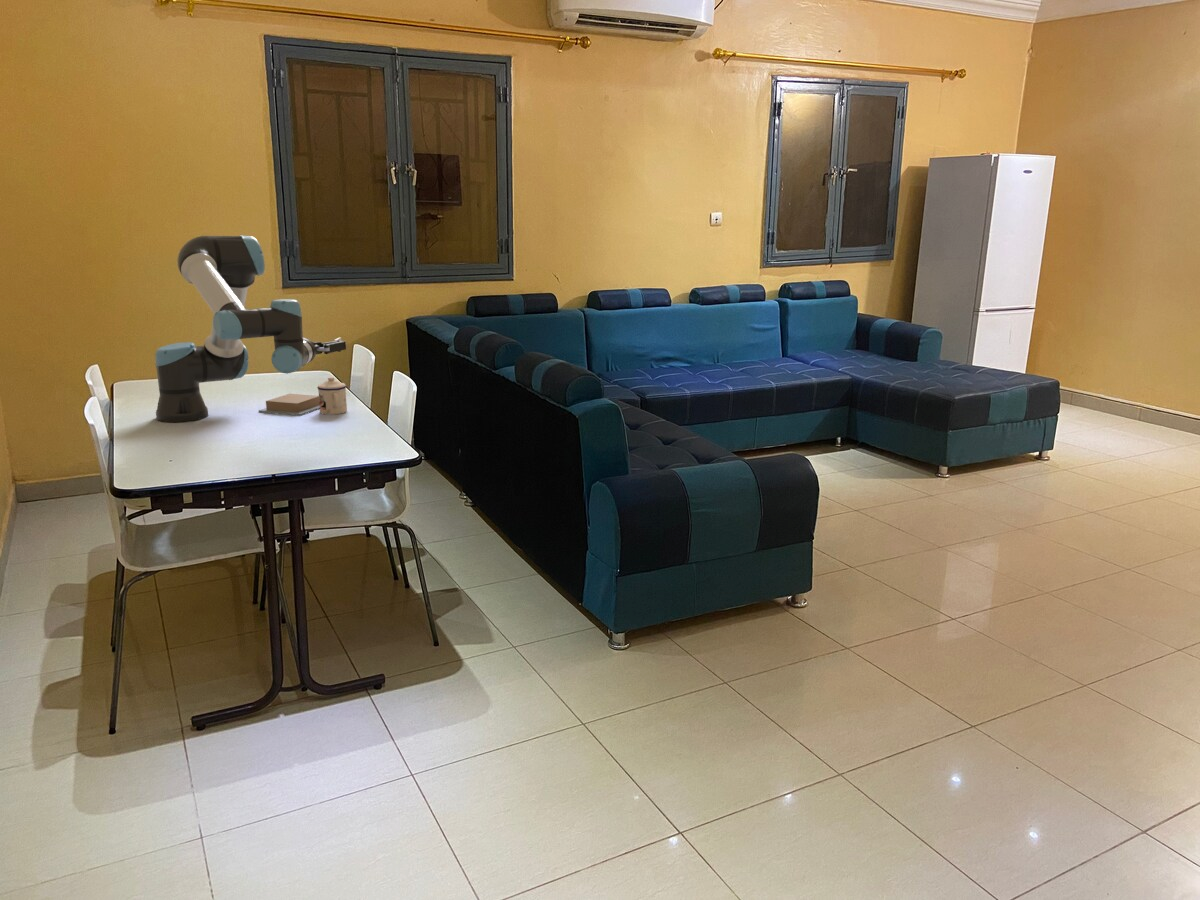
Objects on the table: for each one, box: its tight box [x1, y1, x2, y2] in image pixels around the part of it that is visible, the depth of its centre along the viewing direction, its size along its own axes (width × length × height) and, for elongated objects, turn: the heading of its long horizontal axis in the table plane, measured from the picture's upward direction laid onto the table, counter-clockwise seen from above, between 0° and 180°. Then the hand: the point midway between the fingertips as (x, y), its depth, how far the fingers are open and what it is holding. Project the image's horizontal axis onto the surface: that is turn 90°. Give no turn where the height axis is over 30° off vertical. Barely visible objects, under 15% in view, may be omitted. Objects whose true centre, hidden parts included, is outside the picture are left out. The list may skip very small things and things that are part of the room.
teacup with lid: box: [316, 376, 348, 415], centre depth 288 cm, size 12×9×12 cm
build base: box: [258, 393, 320, 416], centre depth 294 cm, size 16×16×4 cm
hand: (317, 341), depth 269 cm, fingers open, 13 cm apart
